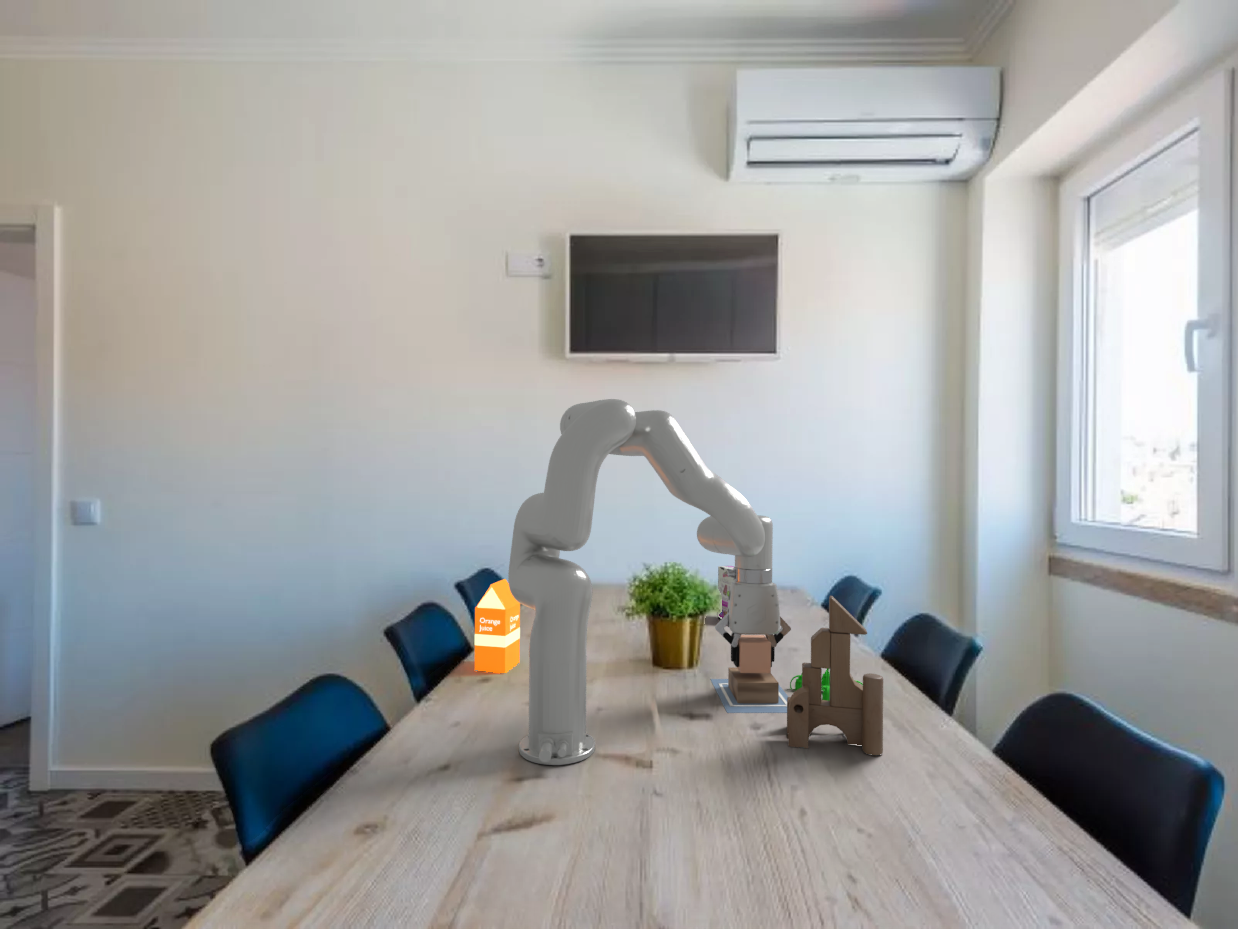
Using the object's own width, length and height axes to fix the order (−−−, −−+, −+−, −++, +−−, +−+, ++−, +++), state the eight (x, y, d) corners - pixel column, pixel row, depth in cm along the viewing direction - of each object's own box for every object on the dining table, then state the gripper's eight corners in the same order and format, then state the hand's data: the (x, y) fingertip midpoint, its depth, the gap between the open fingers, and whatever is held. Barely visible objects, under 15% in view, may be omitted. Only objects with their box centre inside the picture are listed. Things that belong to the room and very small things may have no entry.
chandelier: (869, 715, 130) (869, 679, 130) (788, 707, 134) (789, 672, 134) (863, 690, 144) (863, 658, 144) (791, 683, 148) (791, 652, 148)
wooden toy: (786, 747, 114) (787, 599, 114) (787, 732, 121) (788, 592, 121) (884, 758, 110) (885, 605, 110) (879, 741, 117) (880, 597, 117)
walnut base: (778, 703, 132) (778, 682, 132) (737, 703, 132) (738, 682, 132) (766, 686, 142) (766, 667, 142) (728, 686, 142) (728, 667, 142)
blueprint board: (801, 717, 127) (801, 712, 127) (727, 718, 127) (727, 712, 127) (774, 683, 147) (774, 678, 147) (710, 683, 147) (710, 678, 147)
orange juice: (473, 671, 155) (474, 583, 155) (490, 660, 163) (490, 577, 163) (505, 674, 153) (506, 585, 153) (520, 663, 161) (521, 579, 161)
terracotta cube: (770, 673, 134) (771, 642, 134) (740, 672, 134) (740, 642, 134) (763, 664, 140) (763, 635, 140) (734, 664, 140) (735, 635, 140)
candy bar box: (748, 625, 201) (749, 570, 201) (733, 626, 199) (733, 571, 199) (731, 617, 212) (731, 564, 212) (716, 618, 210) (717, 565, 210)
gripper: (714, 579, 133) (713, 670, 133) (800, 579, 134) (799, 670, 134) (708, 573, 141) (707, 659, 141) (790, 573, 141) (789, 660, 141)
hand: (752, 664), depth 137 cm, fingers closed on terracotta cube, 5 cm apart
